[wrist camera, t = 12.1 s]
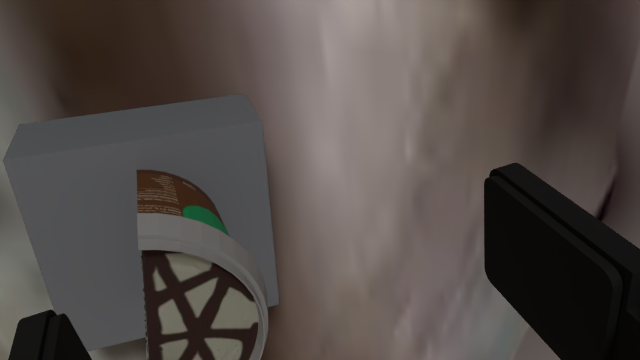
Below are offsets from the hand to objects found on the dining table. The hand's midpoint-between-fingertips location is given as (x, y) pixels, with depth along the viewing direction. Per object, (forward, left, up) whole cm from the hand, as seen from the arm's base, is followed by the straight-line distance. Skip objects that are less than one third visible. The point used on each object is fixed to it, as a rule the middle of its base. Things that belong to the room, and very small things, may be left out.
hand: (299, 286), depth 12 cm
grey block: (+5, +11, -27) cm, 29 cm away
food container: (+3, +11, -21) cm, 24 cm away
